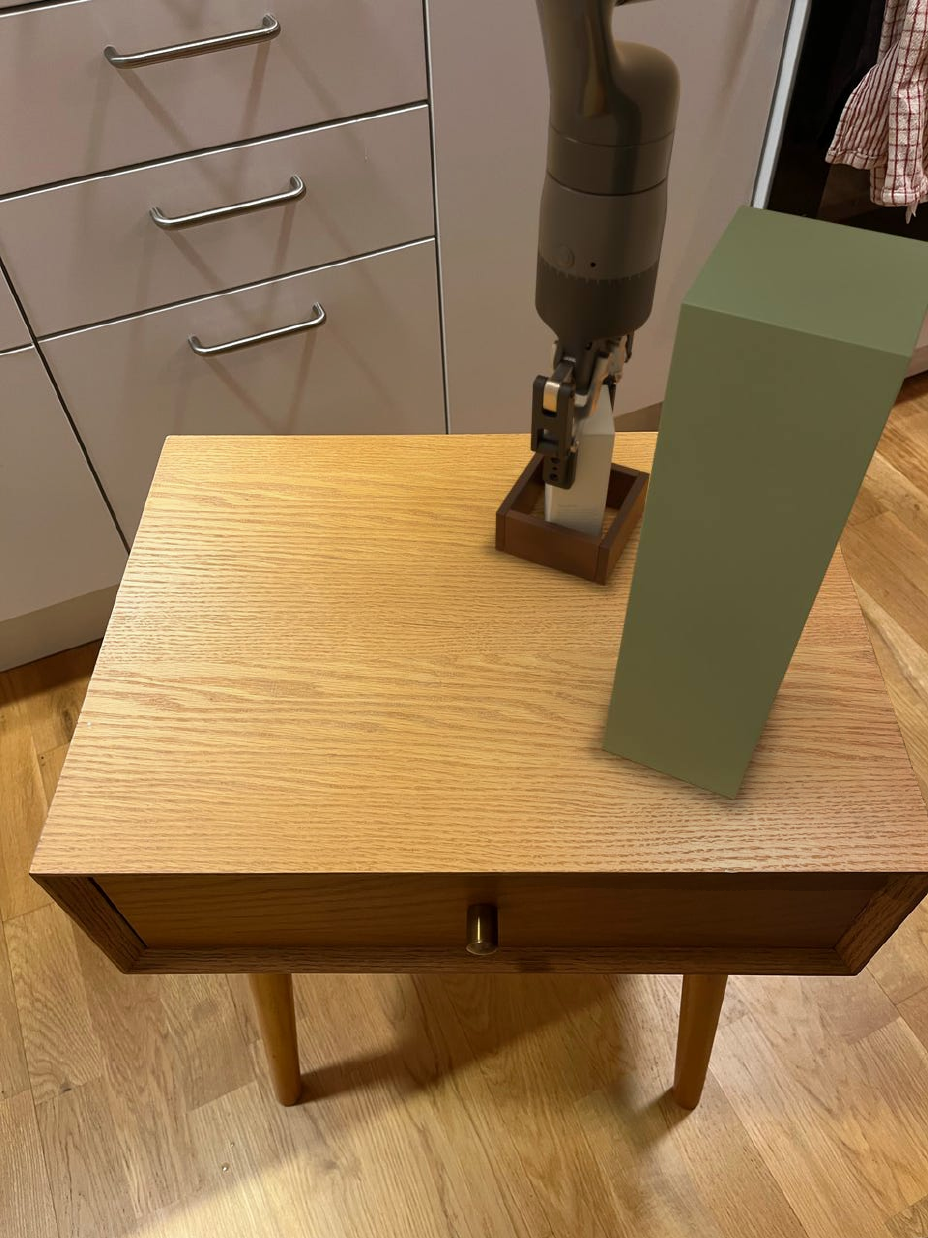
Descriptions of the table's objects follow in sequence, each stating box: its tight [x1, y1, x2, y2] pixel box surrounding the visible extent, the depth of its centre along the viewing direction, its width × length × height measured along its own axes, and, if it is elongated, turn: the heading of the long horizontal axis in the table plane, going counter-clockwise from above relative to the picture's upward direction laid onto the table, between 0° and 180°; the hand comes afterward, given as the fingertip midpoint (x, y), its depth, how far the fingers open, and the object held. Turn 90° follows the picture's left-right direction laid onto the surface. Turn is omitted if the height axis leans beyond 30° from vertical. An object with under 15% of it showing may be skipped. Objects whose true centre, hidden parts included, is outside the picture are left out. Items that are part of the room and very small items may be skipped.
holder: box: [494, 452, 651, 586], centre depth 76 cm, size 9×9×4 cm
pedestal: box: [601, 204, 928, 800], centre depth 52 cm, size 9×9×33 cm
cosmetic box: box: [543, 385, 616, 538], centre depth 73 cm, size 6×4×12 cm
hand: (577, 452), depth 71 cm, fingers closed on cosmetic box, 7 cm apart
